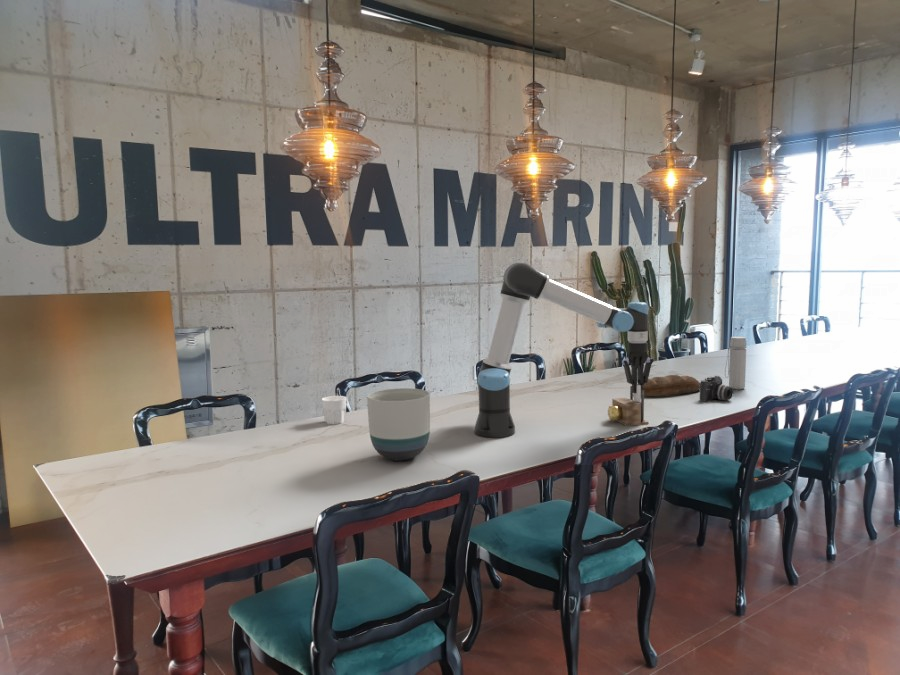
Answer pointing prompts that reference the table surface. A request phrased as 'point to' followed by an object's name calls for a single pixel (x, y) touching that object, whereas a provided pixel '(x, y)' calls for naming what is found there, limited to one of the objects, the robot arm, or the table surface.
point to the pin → (615, 413)
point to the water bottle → (737, 362)
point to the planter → (399, 422)
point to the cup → (334, 409)
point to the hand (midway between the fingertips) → (637, 400)
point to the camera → (714, 389)
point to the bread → (670, 386)
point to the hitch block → (631, 409)
